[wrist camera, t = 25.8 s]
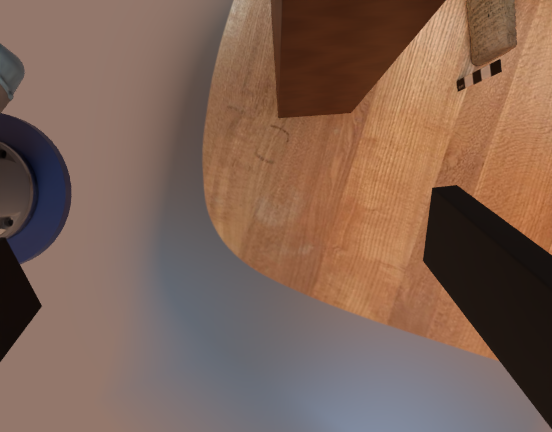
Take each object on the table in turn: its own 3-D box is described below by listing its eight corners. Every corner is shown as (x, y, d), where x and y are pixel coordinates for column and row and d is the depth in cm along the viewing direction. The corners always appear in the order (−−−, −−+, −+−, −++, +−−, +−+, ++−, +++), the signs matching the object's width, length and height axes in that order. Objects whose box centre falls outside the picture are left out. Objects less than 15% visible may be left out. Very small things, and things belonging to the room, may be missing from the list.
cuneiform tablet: (457, 91, 48) (447, 2, 48) (485, 88, 49) (476, 1, 48) (500, 71, 41) (489, -34, 41) (532, 69, 42) (522, -34, 41)
